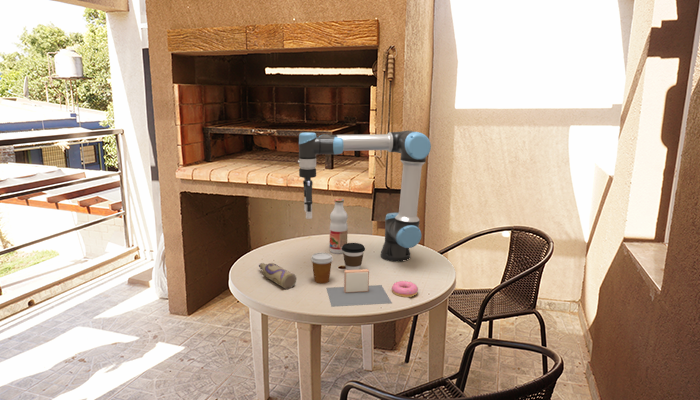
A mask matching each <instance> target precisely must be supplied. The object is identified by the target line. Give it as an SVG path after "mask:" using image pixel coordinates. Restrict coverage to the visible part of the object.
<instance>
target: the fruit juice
mask: <svg viewBox="0 0 700 400" xmlns="http://www.w3.org/2000/svg"><path fill="white" fill-rule="evenodd" d="M333 202H334V206H333V210H332V211H331V212H330V215H329V216H330V217H329V219H330V223H329V252H330V253H332V254H335V255H336V254H338V255H341V254H343V253H344V252H343V250H342V247H343V245H344V244H347V243H348V232H349V231H348V222H347V221H348V218H349V217H348V213H347V211H346V210H345V208H344V202H345V200H344V198H335V199H334V201H333Z"/></svg>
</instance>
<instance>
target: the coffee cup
mask: <svg viewBox="0 0 700 400" xmlns="http://www.w3.org/2000/svg"><path fill="white" fill-rule="evenodd" d="M342 250H343V252H344V253H342V254H343V261H344V266H345V270H361V267H362V262H363V259H364V252H365V251H366V247H365V245H363V244H362V243H359V242H347V244H344V245H343V247H342Z"/></svg>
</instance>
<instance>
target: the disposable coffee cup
mask: <svg viewBox="0 0 700 400" xmlns="http://www.w3.org/2000/svg"><path fill="white" fill-rule="evenodd" d="M310 260H311V263H312V269H313V271H312V273H313V277H314V278H313V279H314V282H315V283H317V284H327V283H329V281H330V278H331V277H330V276H331V271H332V264H333V263H332V262H333V260H334V257H333V256H332V254H330V253H328V252H316V253H313V254H312V255H311V257H310Z"/></svg>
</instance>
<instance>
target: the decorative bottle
mask: <svg viewBox="0 0 700 400" xmlns="http://www.w3.org/2000/svg"><path fill="white" fill-rule="evenodd" d="M258 267H259V269H260V270H262V275H263V276H264V277H265V278H267V279H269V280H270V281H272V282H274V283H275V284H277V285H278V286H280V287H282V288H284V289H286V290H288V289H291V288H293V287H294V286H295V284H296V283H297V275H295V274H294V273H293V272H291V271H289V270H287V269H286V268H283V267H281V266H279V265H277V264H276V263H273V262H270V263H264V262H261V263H259V264H258Z"/></svg>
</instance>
